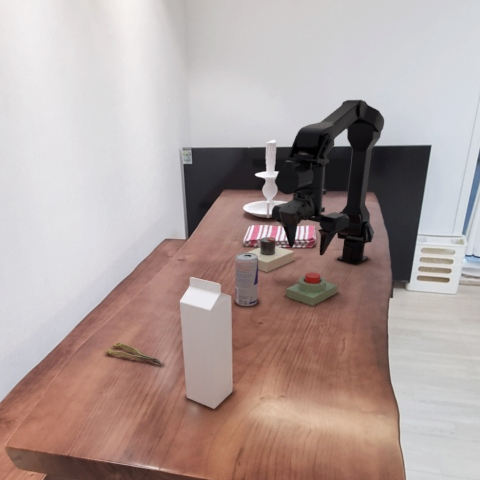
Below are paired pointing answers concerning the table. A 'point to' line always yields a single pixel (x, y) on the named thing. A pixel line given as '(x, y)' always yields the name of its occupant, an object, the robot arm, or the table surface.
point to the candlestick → (266, 185)
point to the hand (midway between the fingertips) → (306, 250)
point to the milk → (207, 342)
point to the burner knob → (267, 246)
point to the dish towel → (280, 236)
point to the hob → (273, 258)
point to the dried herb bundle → (132, 350)
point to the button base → (311, 291)
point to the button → (312, 278)
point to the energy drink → (246, 279)
